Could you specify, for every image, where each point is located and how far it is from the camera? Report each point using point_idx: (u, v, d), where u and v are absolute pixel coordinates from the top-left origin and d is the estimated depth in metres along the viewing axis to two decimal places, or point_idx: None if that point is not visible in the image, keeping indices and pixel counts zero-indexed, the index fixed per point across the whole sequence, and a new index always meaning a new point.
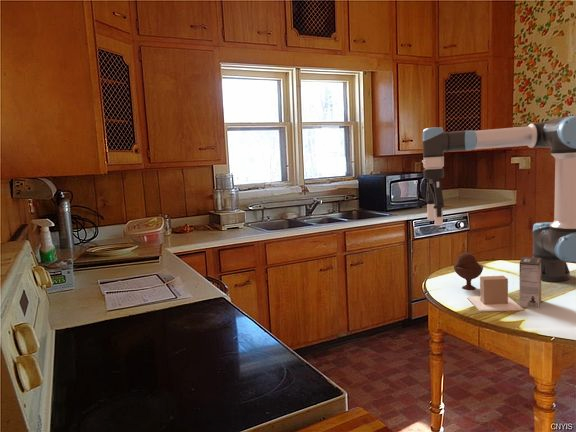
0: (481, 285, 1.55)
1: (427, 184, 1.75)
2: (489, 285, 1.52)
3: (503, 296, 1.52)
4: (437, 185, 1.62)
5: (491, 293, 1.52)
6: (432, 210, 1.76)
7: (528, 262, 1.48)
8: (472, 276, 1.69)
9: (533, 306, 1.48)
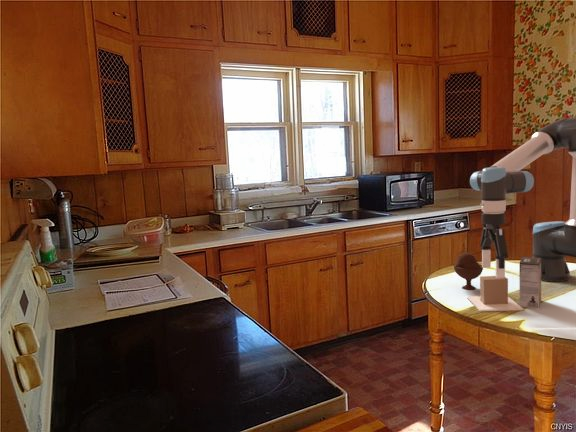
0: (481, 285, 1.55)
1: (483, 228, 1.57)
2: (489, 285, 1.52)
3: (503, 296, 1.52)
4: (500, 233, 1.44)
5: (491, 293, 1.52)
6: (488, 257, 1.59)
7: (528, 262, 1.48)
8: (472, 276, 1.69)
9: (533, 306, 1.48)
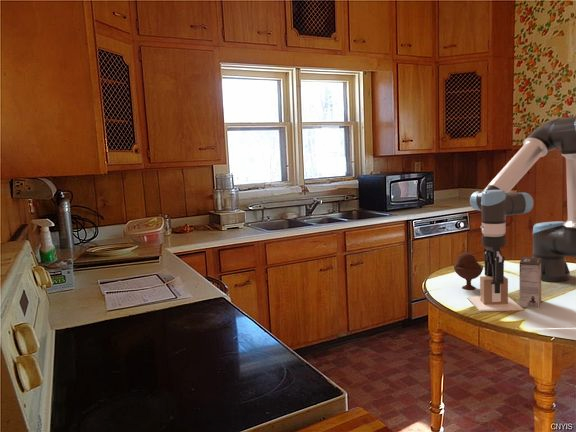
0: (481, 285, 1.55)
1: (484, 253, 1.58)
2: (489, 285, 1.52)
3: (503, 296, 1.52)
4: (499, 261, 1.46)
5: (491, 293, 1.52)
6: None
7: (528, 262, 1.48)
8: (472, 276, 1.69)
9: (533, 306, 1.48)
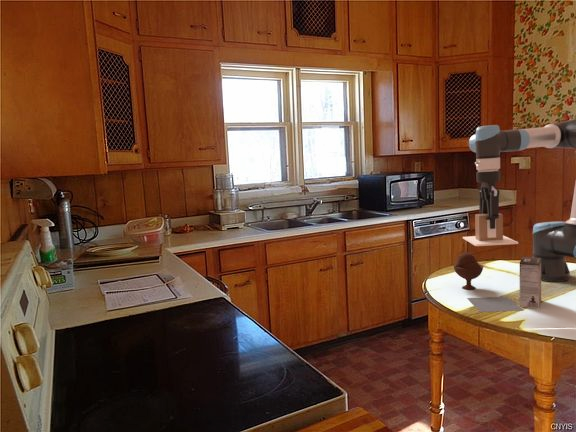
0: (476, 222, 1.55)
1: (479, 192, 1.58)
2: (484, 221, 1.52)
3: (498, 232, 1.53)
4: (494, 194, 1.47)
5: (486, 229, 1.53)
6: None
7: (528, 262, 1.48)
8: (472, 276, 1.69)
9: (533, 306, 1.48)
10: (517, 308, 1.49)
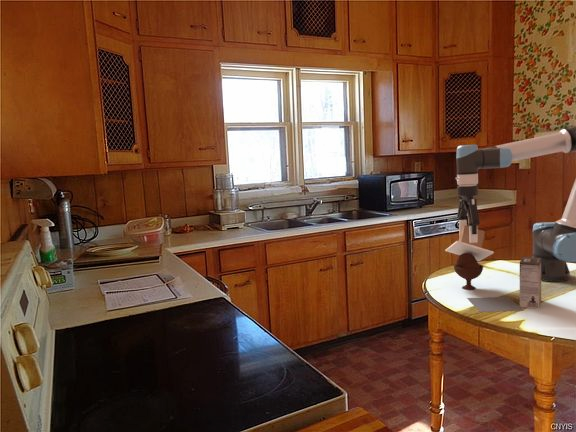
0: (461, 233, 1.75)
1: (459, 200, 1.75)
2: (468, 231, 1.72)
3: (478, 244, 1.71)
4: (472, 202, 1.62)
5: (468, 238, 1.71)
6: None
7: (528, 262, 1.48)
8: (472, 276, 1.69)
9: (533, 306, 1.48)
10: (517, 308, 1.49)
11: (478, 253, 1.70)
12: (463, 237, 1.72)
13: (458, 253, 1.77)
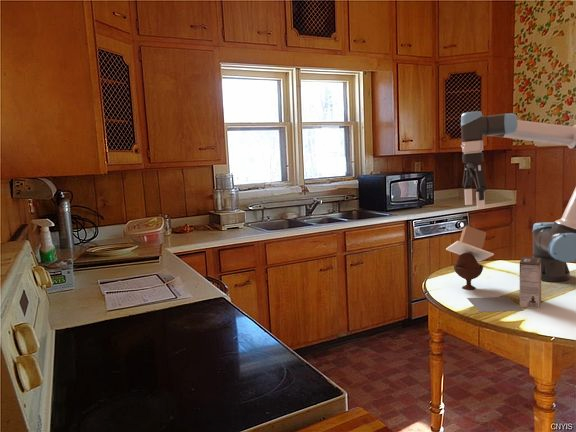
0: (462, 233, 1.75)
1: (464, 169, 1.76)
2: (469, 232, 1.72)
3: (478, 245, 1.71)
4: (479, 168, 1.63)
5: (469, 239, 1.71)
6: (470, 195, 1.77)
7: (528, 262, 1.48)
8: (472, 276, 1.69)
9: (533, 306, 1.48)
10: (517, 308, 1.49)
11: (478, 254, 1.70)
12: (464, 237, 1.72)
13: (458, 253, 1.77)
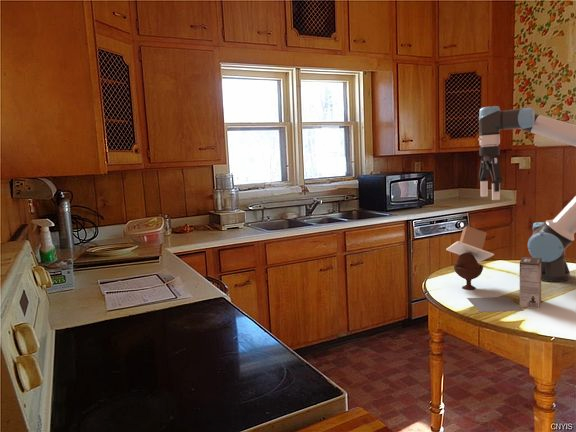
0: (462, 234, 1.75)
1: (481, 162, 1.83)
2: (470, 232, 1.72)
3: (479, 246, 1.71)
4: (495, 161, 1.70)
5: (469, 239, 1.72)
6: (485, 187, 1.84)
7: (528, 262, 1.48)
8: (472, 276, 1.69)
9: (533, 306, 1.48)
10: (517, 308, 1.49)
11: (478, 254, 1.70)
12: (464, 237, 1.72)
13: (459, 253, 1.77)
